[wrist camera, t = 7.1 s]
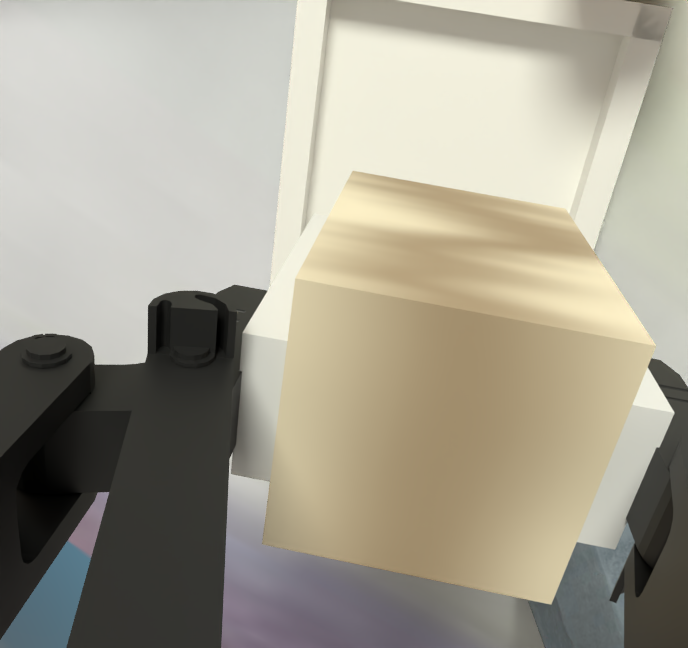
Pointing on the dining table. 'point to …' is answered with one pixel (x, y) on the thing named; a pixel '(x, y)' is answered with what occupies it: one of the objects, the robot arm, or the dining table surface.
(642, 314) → the dining table surface
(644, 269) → the dining table surface
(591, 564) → the moka pot
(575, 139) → the tray
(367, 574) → the dining table surface
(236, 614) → the dining table surface
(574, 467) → the birch block
